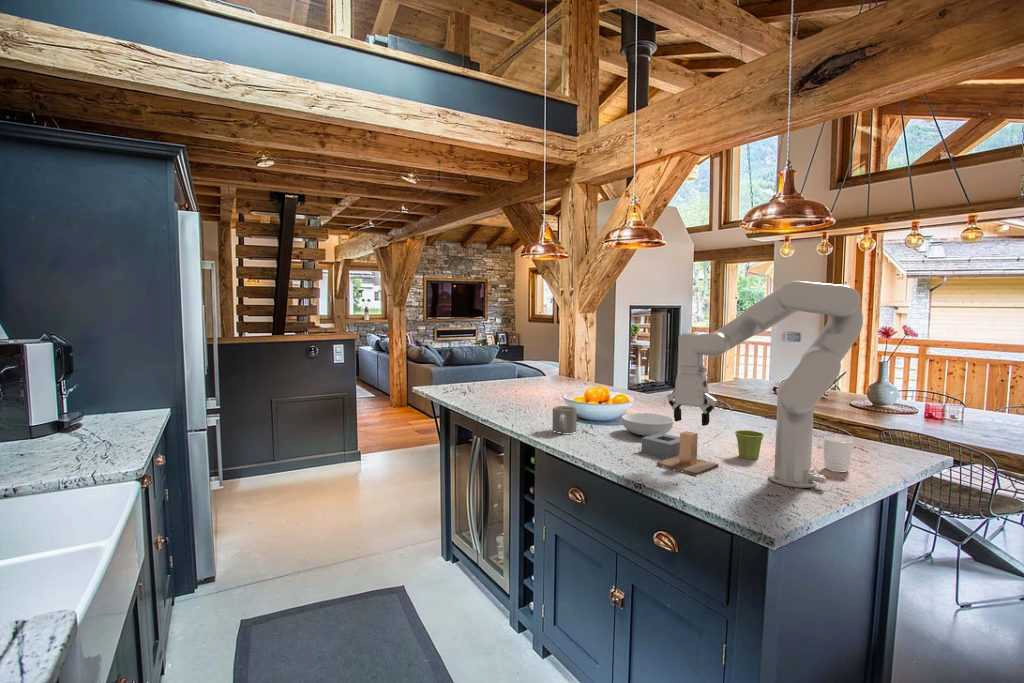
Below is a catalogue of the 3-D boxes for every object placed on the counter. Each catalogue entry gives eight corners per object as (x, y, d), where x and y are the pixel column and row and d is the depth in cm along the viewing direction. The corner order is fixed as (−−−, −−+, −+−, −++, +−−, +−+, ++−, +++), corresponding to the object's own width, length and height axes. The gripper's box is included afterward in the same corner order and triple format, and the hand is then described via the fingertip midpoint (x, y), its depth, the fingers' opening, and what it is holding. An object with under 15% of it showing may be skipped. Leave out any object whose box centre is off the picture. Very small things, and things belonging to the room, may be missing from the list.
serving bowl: (628, 440, 199) (629, 423, 198) (616, 428, 219) (616, 412, 219) (681, 440, 199) (681, 423, 199) (663, 428, 220) (663, 412, 220)
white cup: (837, 474, 159) (839, 443, 158) (816, 466, 167) (817, 437, 166) (857, 472, 161) (858, 441, 160) (835, 465, 169) (836, 435, 168)
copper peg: (696, 463, 166) (697, 433, 165) (690, 465, 163) (691, 435, 163) (685, 460, 169) (686, 431, 168) (679, 463, 166) (680, 433, 166)
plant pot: (727, 455, 179) (728, 431, 178) (745, 452, 183) (746, 428, 183) (751, 462, 170) (752, 437, 170) (769, 459, 175) (770, 434, 174)
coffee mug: (557, 427, 219) (557, 405, 218) (579, 430, 215) (579, 407, 214) (545, 434, 207) (546, 410, 207) (568, 437, 203) (568, 412, 202)
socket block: (689, 452, 182) (689, 439, 182) (670, 458, 174) (671, 444, 174) (660, 445, 191) (660, 432, 191) (641, 451, 183) (641, 437, 183)
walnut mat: (718, 467, 165) (718, 464, 165) (696, 475, 156) (696, 472, 156) (679, 457, 176) (679, 454, 176) (657, 465, 167) (657, 462, 167)
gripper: (722, 371, 160) (722, 425, 161) (673, 368, 173) (673, 417, 174) (710, 373, 155) (710, 428, 156) (661, 370, 168) (661, 421, 169)
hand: (691, 422), depth 165 cm, fingers open, 9 cm apart
